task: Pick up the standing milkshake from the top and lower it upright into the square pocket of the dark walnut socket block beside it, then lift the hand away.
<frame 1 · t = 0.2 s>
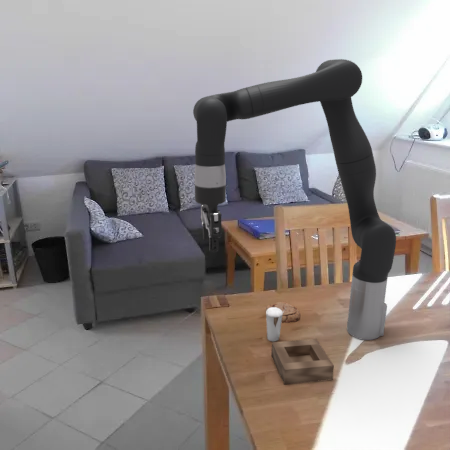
hand: (210, 245, 122), 28 cm above the table, tool pointing down, fingers open, 8 cm apart
cookie: (282, 316, 147), on the table
socket block: (300, 367, 121), on the table
milkshake: (274, 339, 134), on the table
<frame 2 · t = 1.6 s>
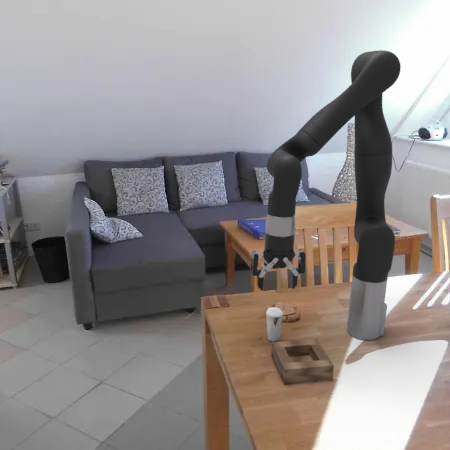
hand: (276, 288, 129), 15 cm above the table, tool pointing down, fingers open, 8 cm apart
nothing on the table moved.
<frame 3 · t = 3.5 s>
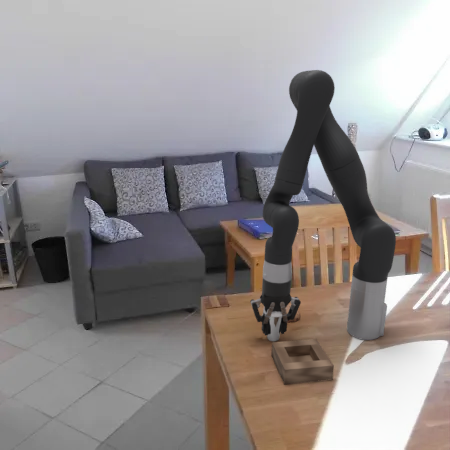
hand: (273, 333, 133), 2 cm above the table, tool pointing down, fingers closed on milkshake, 4 cm apart
milkshake: (274, 339, 134), on the table, touching gripper
everything else where it was.
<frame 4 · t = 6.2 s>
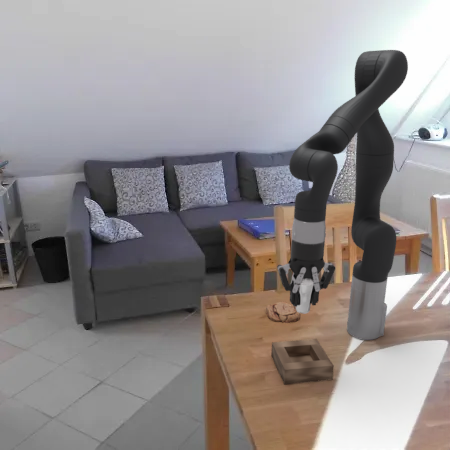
hand: (303, 304, 116), 17 cm above the table, tool pointing down, fingers closed on milkshake, 4 cm apart
milkshake: (304, 311, 117), point 15 cm above the table, touching gripper
everything else where it was.
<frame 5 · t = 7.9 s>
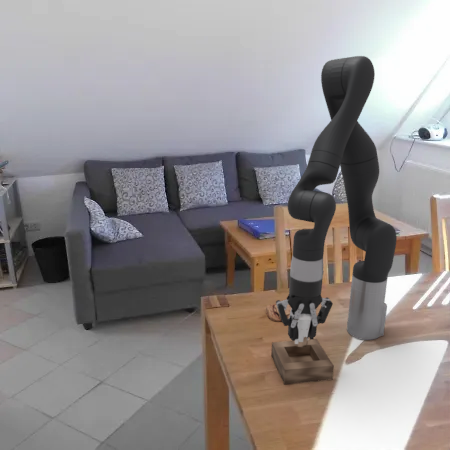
hand: (301, 338, 119), 8 cm above the table, tool pointing down, fingers closed on milkshake, 4 cm apart
milkshake: (302, 345, 120), point 6 cm above the table, touching gripper
everything else where it was.
when the fingers open (5 cm above the table, at t = 9.0 s): milkshake drops 2 cm, resting on socket block.
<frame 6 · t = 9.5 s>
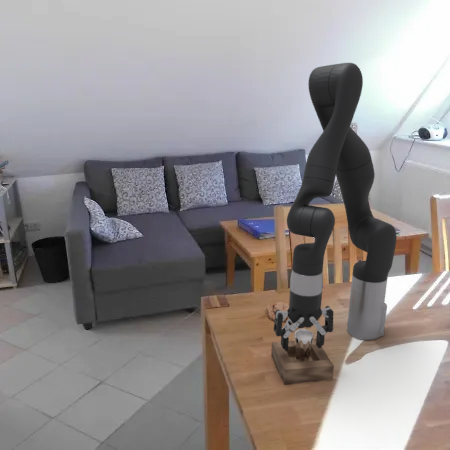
hand: (302, 347, 120), 6 cm above the table, tool pointing down, fingers open, 8 cm apart
milkshake: (303, 364, 121), point 1 cm above the table, touching socket block
everything else where it was.
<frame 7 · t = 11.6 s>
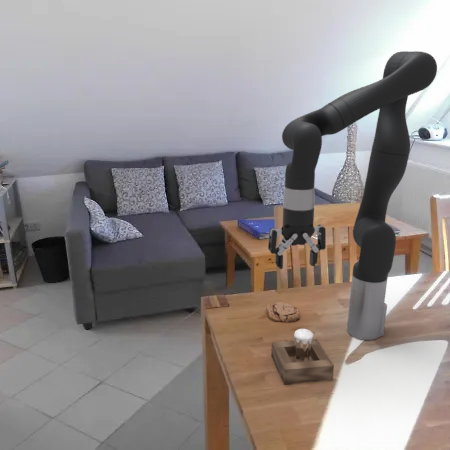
hand: (296, 266, 123), 23 cm above the table, tool pointing down, fingers open, 8 cm apart
nothing on the table moved.
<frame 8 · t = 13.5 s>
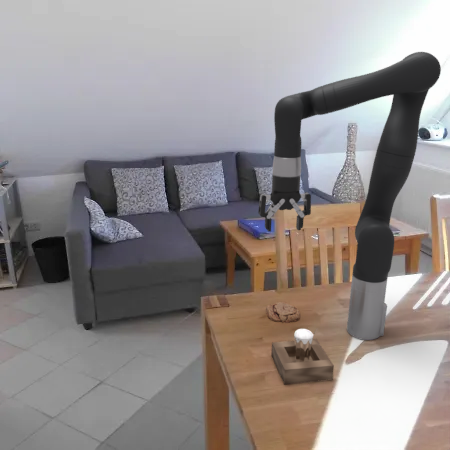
hand: (283, 230, 135), 28 cm above the table, tool pointing down, fingers open, 8 cm apart
nothing on the table moved.
at the end: milkshake 0.7 cm off-centre on the socket block, point 0.8 cm above the socket block's base; milkshake tilted 0°; the gripper is holding nothing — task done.
